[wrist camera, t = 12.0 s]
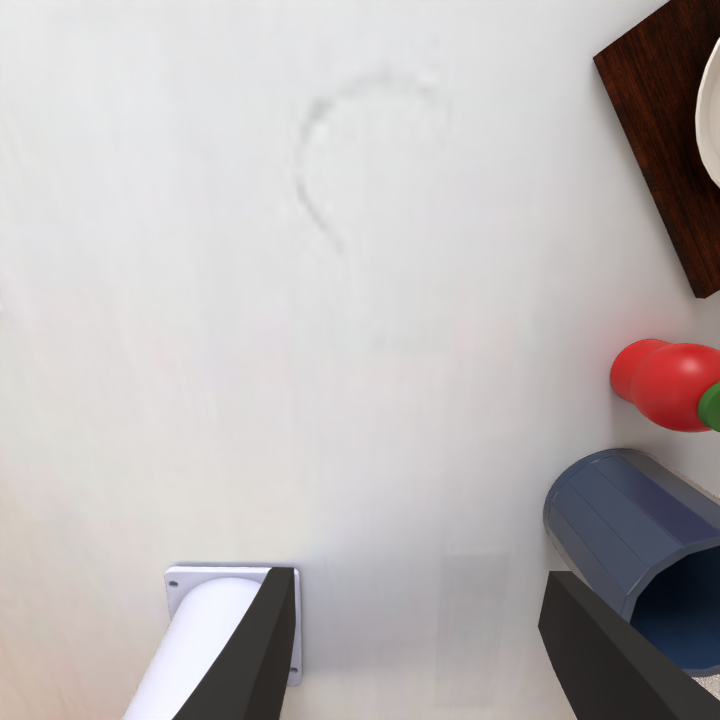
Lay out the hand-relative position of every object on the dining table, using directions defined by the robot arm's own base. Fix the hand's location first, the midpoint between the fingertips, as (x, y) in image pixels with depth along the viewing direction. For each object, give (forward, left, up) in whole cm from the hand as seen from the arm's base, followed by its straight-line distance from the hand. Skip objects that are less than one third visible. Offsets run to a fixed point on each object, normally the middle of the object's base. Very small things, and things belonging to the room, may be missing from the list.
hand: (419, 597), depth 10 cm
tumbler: (-4, -13, -10) cm, 17 cm away
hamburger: (+16, -16, -10) cm, 25 cm away
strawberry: (+4, -13, -10) cm, 17 cm away
